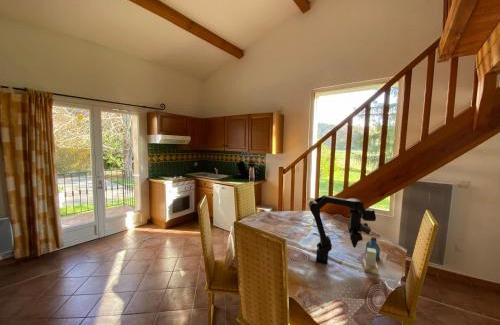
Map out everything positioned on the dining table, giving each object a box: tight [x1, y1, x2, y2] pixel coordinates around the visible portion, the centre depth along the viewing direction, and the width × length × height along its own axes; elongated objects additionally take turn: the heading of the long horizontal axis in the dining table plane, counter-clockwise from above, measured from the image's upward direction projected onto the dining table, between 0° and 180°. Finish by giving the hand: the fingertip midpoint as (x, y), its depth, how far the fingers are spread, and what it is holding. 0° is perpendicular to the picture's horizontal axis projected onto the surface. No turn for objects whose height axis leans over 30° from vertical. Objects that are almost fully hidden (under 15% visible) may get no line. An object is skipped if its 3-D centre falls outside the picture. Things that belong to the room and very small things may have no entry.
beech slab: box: [361, 258, 379, 275], centre depth 127 cm, size 7×7×4 cm
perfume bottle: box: [365, 236, 381, 259], centre depth 142 cm, size 6×6×12 cm
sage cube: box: [365, 248, 377, 261], centre depth 126 cm, size 4×4×4 cm
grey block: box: [365, 254, 377, 267], centre depth 127 cm, size 5×5×4 cm
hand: (353, 243), depth 131 cm, fingers open, 9 cm apart
